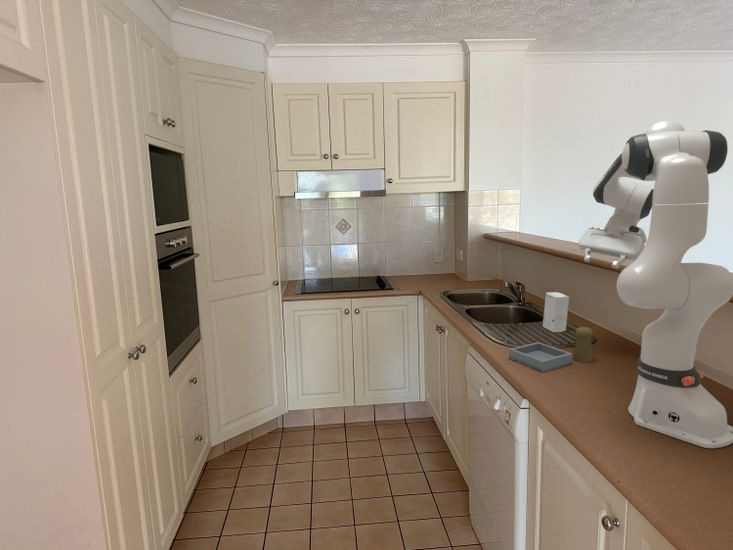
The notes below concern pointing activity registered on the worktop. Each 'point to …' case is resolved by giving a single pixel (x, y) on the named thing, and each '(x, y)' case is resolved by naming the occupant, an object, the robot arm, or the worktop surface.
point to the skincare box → (555, 311)
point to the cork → (583, 345)
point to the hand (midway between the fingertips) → (600, 264)
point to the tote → (541, 356)
